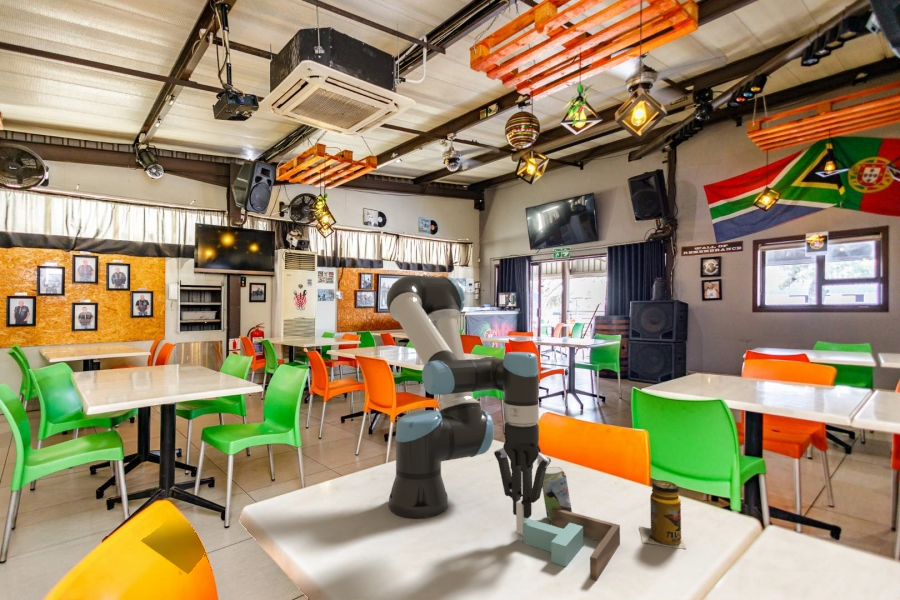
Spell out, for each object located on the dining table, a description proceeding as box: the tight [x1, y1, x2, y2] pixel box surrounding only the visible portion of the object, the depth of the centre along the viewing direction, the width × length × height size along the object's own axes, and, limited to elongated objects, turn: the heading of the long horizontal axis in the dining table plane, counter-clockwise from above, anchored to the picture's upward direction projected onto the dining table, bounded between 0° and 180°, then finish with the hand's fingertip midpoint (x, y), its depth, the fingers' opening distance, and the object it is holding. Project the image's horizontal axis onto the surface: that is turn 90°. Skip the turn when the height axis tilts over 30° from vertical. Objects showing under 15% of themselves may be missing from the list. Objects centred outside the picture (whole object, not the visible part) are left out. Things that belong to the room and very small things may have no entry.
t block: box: [522, 518, 584, 568], centre depth 95 cm, size 11×10×4 cm
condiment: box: [638, 479, 686, 550], centre depth 99 cm, size 7×8×12 cm
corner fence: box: [551, 508, 621, 582], centre depth 94 cm, size 15×16×4 cm
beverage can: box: [542, 466, 573, 522], centre depth 108 cm, size 6×7×12 cm
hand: (522, 530), depth 98 cm, fingers closed
